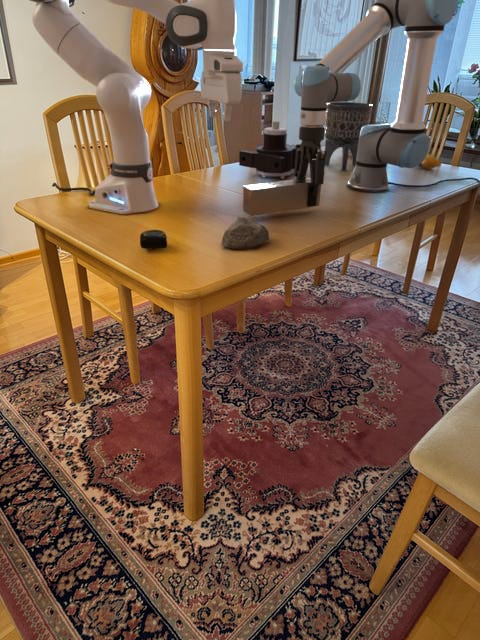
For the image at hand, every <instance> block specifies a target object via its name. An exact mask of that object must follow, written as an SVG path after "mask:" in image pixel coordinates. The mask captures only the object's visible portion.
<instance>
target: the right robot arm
mask: <svg viewBox="0 0 480 640" xmlns="http://www.w3.org/2000/svg"><path fill="white" fill-rule="evenodd" d="M457 7H458V0H376V1H375V2H374V3H373V4H372V5H371V6H370V7H369V8H368V9H367V11H366V14H365V16H364V18H362V19H361V20H360V21H359V22H358V23H357V24H356V25H355V26H354V27H353V28H352V29H351V30H350V31H349V32H348V33H347V34H346V35H345V36H344V37H342V39H341V40H340V41H339V42H338V43H337V44H335V45H334V47H333V48H332V49H330V50H329V51H328V52H327V53H326V54H325V55H324V56H323V57H322V58H321V59H320V60H319V61H318V62H317V63H316V64H315V65H309V66H306V67H304V69H303V71H301V72H299V73H298V74H297V75H296V76H295V79H294V83H293V88H294V91H295V93H296V96H298V97H300V99H301V100H300V114H299V124H300V126H299V129H298V140H300V141H301V142H300V143H298V144H295V145H296V146H295V147H296V158H295V170H294V172H293V176H294V177H295V178H296V179H301V178H308V177H307V173H308V170H309V174H310V175H309V176H310V177H311V184H309V196H308V206H309V208H311V207H310V206H315V207H317V206H316V202H317V195H318V186H319V185H321V186H322V185H324V181H325V169H326V167H325V166H326V165H325V158H326V154H327V152H326V151H325V150H323V149H322V146H321V142H322V141H323V140H324V139H325V125H326V112H327V103H331V102H353V101H355V100H356V99H357V98H358V97H359V96H360V93H361V89H362V80H361V78H360V77H359V75H358V74H357V73H353V72H345V71H346V70H347V69H348V68H349V67H350V66H351V65H353V63H355V61H356V60H358V58H359V57H360V56H362V54H364V52H365V51H367V50H368V49H369V48H370V46H371V45H373V43H375V42H376V41H377V40H378V39H380V37H383V36H386V35H387V34H388V33H390V31H392V30H394V29H397V28H400V27H404V30H403V31H404V32H403V33H404V35H405V36H406V38H407V43H406V52H405V58H404V65H403V70H402V76H401V77H402V78H401V84H400V91H399V97H398V104H397V109H396V110H397V111H396V117H395V120H394V122H392V123H379V124H369V125H365V126H363V127H362V128H361V131H360V136H359V142H358V150H357V158H356V165H355V166H354V167H353V171H351V172H350V173H349V179H348V180H347V181H348V182H347V187H348V188H349V189H351V190H354V191H358V192H363V193H364V192H365V193H382V192H386V191H388V189H389V185H392V186H397V187H404V188H405V187H406V188H427V187H428V188H429V187H432V186H437V185H438V184H441V183H445V182H458V181H466V180H468V181H469V180H472V181H476V182H477V183H478V184H480V180H479V179H478V178H476V177H463V178H462V177H461V178H448V179H447V178H446V179H441V180H438V181H436V182H433V183H429V184H421V185H419V184H418V185H415V184H404V183H403V184H402V183H397V182H390V181H389V178H388V173H387V172H388V171H387V166H388V165H392V166H396V167H399V168H402V169H403V168H405V169H414V168H416V167H419V166H418V165H419V164H420V163H421V162H422V161H423V160H424V159H425V157H426V155H428V153H429V151H430V148H431V140H430V136H429V135H428V134H427V133H426V130H427V129H426V128H427V126H426V125H425V123H424V122H423V120H424V119H423V118H424V113H425V107H426V102H427V98H428V97H427V96H428V91H429V86H430V80H431V74H432V68H433V64H434V63H433V62H434V59H435V52H436V47H437V41H438V39H439V37H440V36H441V35H442V34H443V33H444V30H445V26H446V25H447V24H449V23H450V22H451V21H452V20H453V17H454V16H455V14H456V12H457ZM308 168H309V169H308ZM314 181H315V182H314Z"/></svg>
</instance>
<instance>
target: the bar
mask: <svg viewBox="0 0 480 640" xmlns="http://www.w3.org/2000/svg"><path fill="white" fill-rule="evenodd" d="M314 182H315V181H314ZM309 184H311V176H310V177H309V176H308V177H307V178H301V179H297V178H294V179H285V180H279V181H270V182H263V183H254V184H247V185H243V186H242V209H243V210H242V212H243V213H245V214H247V215H248V216H250V217H256V216H263V215H270V214H275V213H282V212H288V211H294V210H301V209H307V208H314V207H320V201H321V191H322V185H319V186H318V195H317V202H316V206H310V207H309V206H308V196H309Z"/></svg>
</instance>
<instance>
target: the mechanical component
mask: <svg viewBox="0 0 480 640" xmlns="http://www.w3.org/2000/svg"><path fill="white" fill-rule="evenodd" d="M287 138H288V129H287V128H286V127H280V121H279V120H272V126H271V127H265V128H264V129H263V145H262V146H258V147H257V148H256V151H250V150H245V149H241V150H239V153H238V154H239V155H238V157H239V159H238V166H240V167H245V168H250V169H255V173H256V174H257V175H261V177H262V178H267V177H279V178H280V179H285V176H291V175H292V173H294V170H295V158H296V147H295V146H296V145H297V144H290V143H287Z"/></svg>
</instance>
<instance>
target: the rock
mask: <svg viewBox="0 0 480 640" xmlns="http://www.w3.org/2000/svg"><path fill="white" fill-rule="evenodd" d="M269 241H270V233H269V230H268V229H267V228H266V226H265V225H263V224H261V223H259V222H256V221H255V220H252V219H247V218H245V217H241V216H238V217H237V218H236V219H235V221H234V222H233V223H232V224H231V225H229V226H228V227H227V228H226V229H225V231H224V233H223V236H222V239H221V244H222V247H224V248H229V249H231V250H245V249H254V248H257V247H259V246H260V245H264V244H266V242H269Z"/></svg>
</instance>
